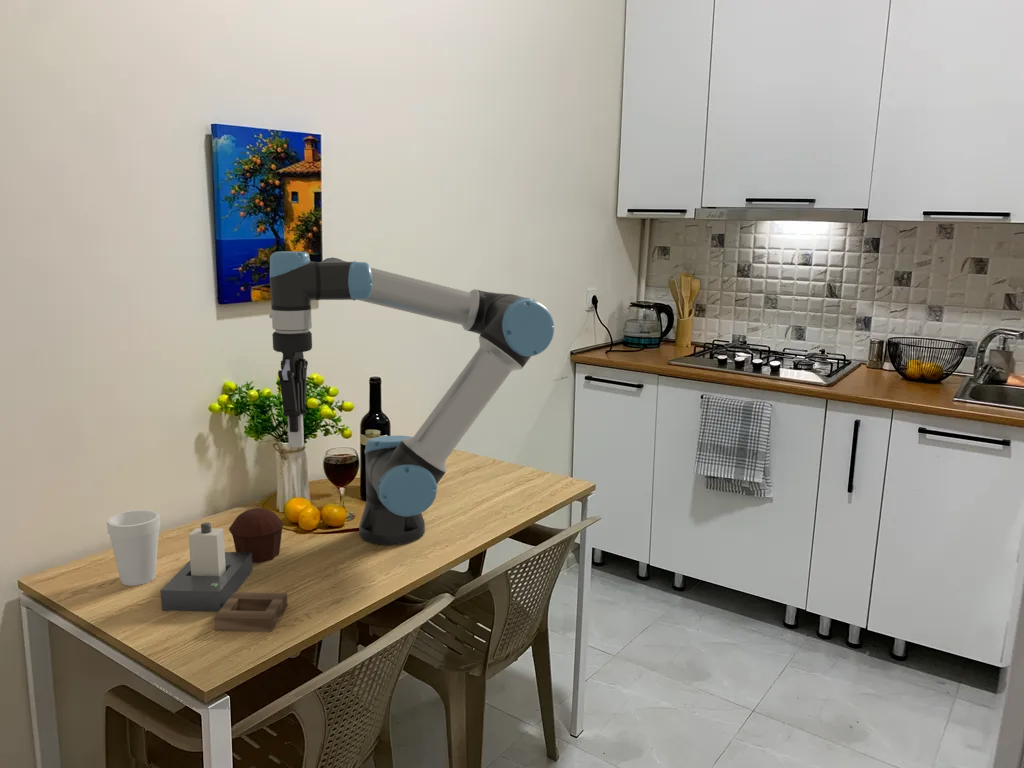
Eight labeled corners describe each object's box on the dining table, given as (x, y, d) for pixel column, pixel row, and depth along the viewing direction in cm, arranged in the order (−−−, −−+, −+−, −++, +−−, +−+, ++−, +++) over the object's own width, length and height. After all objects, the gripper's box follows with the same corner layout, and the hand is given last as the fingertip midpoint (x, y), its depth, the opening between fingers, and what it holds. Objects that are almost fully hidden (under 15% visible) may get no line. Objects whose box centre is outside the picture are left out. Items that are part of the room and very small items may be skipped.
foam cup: (160, 586, 160) (155, 524, 157) (108, 591, 158) (103, 528, 155) (165, 566, 169) (161, 507, 166) (117, 571, 166) (112, 511, 164)
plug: (199, 585, 161) (195, 520, 158) (226, 585, 161) (223, 521, 158) (192, 593, 157) (188, 527, 155) (220, 593, 157) (216, 528, 155)
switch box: (199, 569, 168) (198, 550, 167) (252, 570, 168) (251, 551, 167) (161, 610, 150) (160, 589, 150) (220, 611, 150) (219, 590, 149)
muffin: (238, 544, 181) (235, 502, 179) (288, 543, 182) (287, 501, 180) (224, 567, 169) (222, 521, 168) (278, 565, 171) (276, 520, 169)
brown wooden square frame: (234, 604, 153) (233, 592, 153) (287, 605, 153) (286, 593, 153) (214, 630, 143) (214, 617, 143) (271, 631, 143) (270, 618, 143)
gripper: (282, 326, 166) (287, 437, 171) (262, 334, 154) (268, 454, 158) (319, 326, 166) (322, 437, 171) (302, 335, 153) (306, 455, 158)
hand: (296, 445), depth 165 cm, fingers closed
